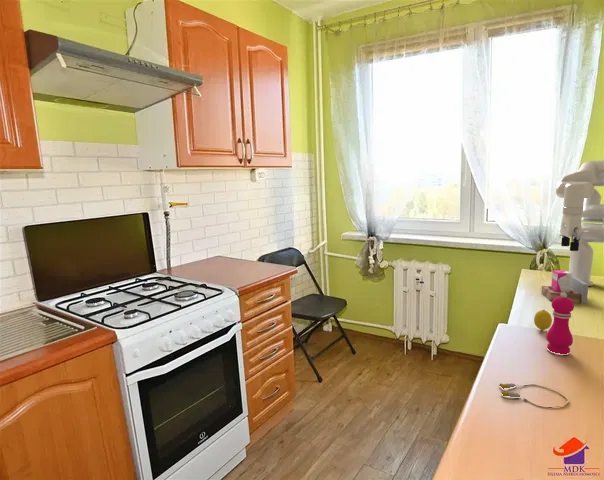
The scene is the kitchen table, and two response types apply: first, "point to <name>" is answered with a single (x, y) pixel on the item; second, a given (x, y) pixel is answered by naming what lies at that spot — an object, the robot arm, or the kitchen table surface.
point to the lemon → (542, 320)
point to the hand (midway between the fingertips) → (569, 248)
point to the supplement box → (561, 281)
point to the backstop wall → (580, 288)
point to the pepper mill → (560, 325)
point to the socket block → (551, 294)
